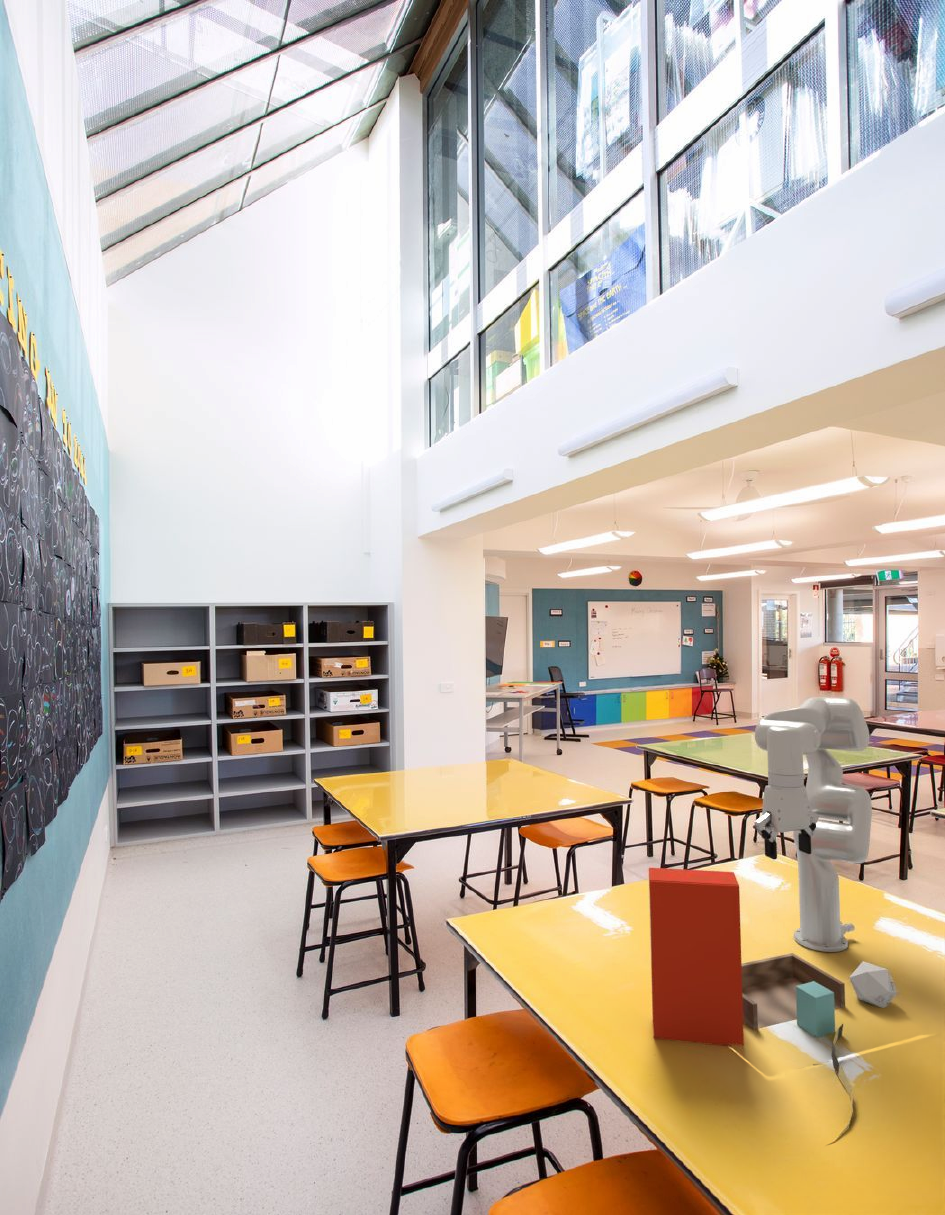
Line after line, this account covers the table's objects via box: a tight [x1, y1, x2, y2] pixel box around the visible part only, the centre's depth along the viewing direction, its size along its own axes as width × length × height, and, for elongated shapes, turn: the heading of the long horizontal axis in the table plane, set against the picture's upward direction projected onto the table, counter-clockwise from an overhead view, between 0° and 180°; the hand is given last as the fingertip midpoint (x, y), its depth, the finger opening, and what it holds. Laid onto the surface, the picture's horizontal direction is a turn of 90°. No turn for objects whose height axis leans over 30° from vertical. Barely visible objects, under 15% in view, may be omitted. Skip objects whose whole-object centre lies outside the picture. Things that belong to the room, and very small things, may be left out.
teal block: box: [796, 981, 836, 1038], centre depth 144 cm, size 5×5×8 cm
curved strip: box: [831, 1023, 855, 1142], centre depth 125 cm, size 6×39×4 cm, turn 144°
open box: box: [741, 952, 846, 1030], centre depth 155 cm, size 24×15×6 cm, turn 108°
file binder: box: [648, 867, 745, 1047], centre depth 145 cm, size 8×17×32 cm, turn 77°
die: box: [848, 961, 899, 1009], centre depth 155 cm, size 8×9×10 cm
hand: (788, 855), depth 162 cm, fingers open, 9 cm apart
